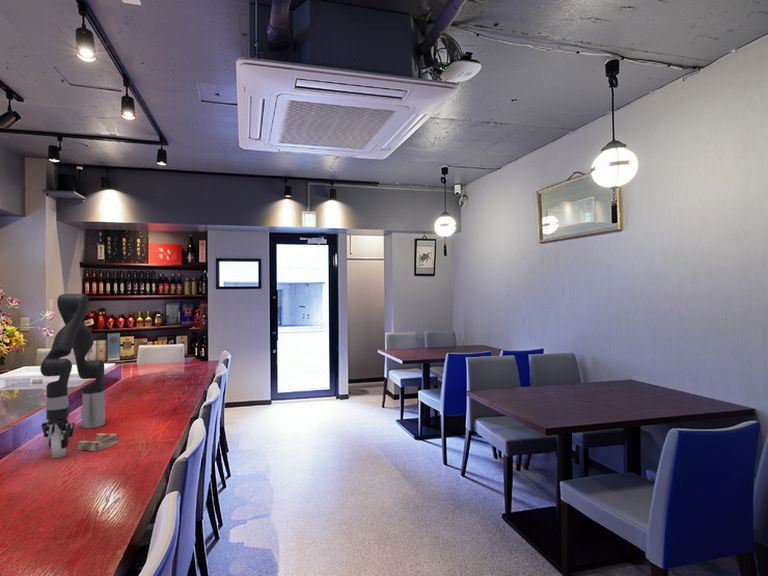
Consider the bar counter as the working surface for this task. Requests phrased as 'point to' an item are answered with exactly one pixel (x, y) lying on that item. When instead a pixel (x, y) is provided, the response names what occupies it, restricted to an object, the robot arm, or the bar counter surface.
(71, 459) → the bar counter surface
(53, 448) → the bottle
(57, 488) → the bar counter surface
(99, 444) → the rest
